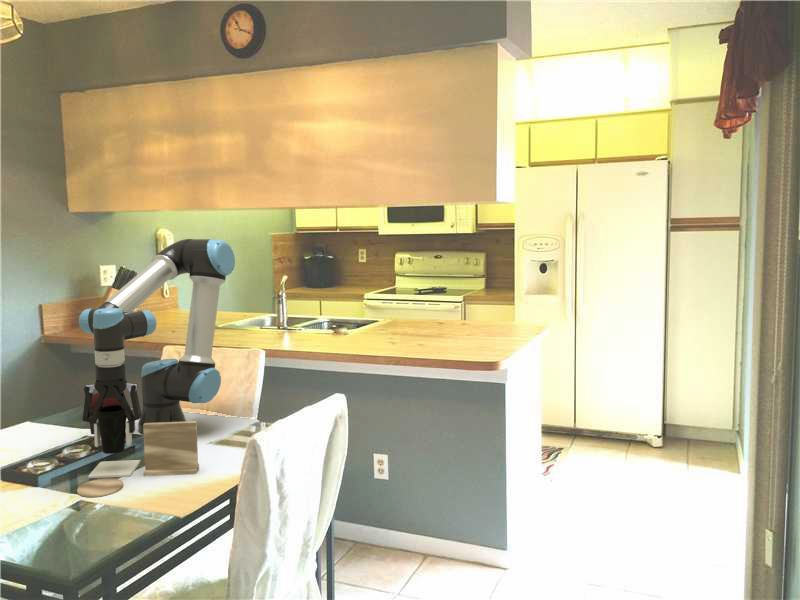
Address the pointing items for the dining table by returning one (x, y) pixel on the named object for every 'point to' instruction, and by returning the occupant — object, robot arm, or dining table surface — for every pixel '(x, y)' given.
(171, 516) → the dining table surface
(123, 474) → the stone coaster
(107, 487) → the cork coaster
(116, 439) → the cup
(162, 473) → the screen
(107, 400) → the potato
